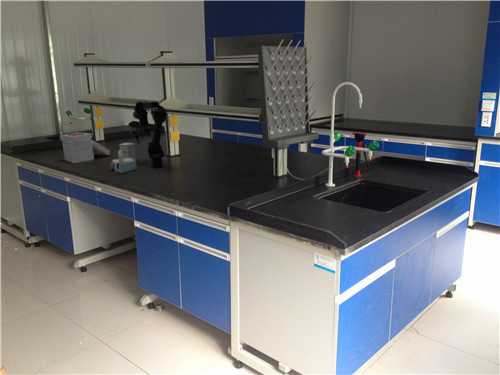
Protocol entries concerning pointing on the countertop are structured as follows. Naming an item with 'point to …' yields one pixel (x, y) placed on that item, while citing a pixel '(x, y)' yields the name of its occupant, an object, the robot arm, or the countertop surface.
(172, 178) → the countertop surface
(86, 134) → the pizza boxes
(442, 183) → the countertop surface
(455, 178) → the countertop surface
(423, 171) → the countertop surface
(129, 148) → the supplement box
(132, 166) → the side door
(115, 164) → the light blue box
